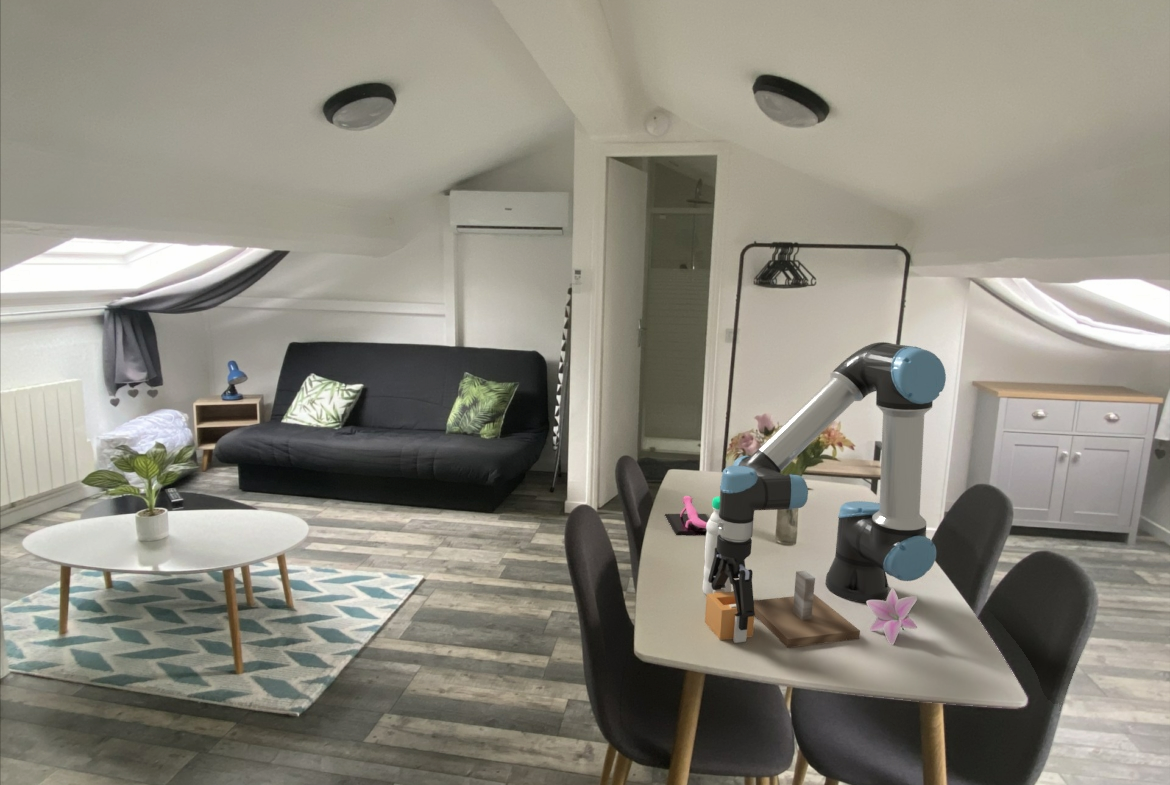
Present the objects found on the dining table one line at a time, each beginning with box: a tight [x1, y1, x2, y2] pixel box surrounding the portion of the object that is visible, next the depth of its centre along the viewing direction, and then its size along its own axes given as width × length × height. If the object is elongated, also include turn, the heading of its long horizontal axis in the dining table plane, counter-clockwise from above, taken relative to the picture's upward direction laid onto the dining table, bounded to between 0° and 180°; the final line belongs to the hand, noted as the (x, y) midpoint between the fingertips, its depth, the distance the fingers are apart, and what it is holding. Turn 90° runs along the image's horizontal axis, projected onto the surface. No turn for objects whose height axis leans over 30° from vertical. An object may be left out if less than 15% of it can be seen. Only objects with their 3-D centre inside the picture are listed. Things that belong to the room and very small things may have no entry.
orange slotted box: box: [704, 590, 755, 641], centre depth 157 cm, size 8×8×7 cm
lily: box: [865, 587, 918, 646], centre depth 157 cm, size 12×12×10 cm
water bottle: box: [702, 496, 732, 596], centre depth 172 cm, size 7×7×25 cm
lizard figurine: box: [664, 495, 711, 536], centre depth 223 cm, size 15×20×7 cm
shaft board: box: [753, 570, 861, 648], centre depth 160 cm, size 18×18×12 cm
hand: (727, 628), depth 157 cm, fingers open, 11 cm apart
